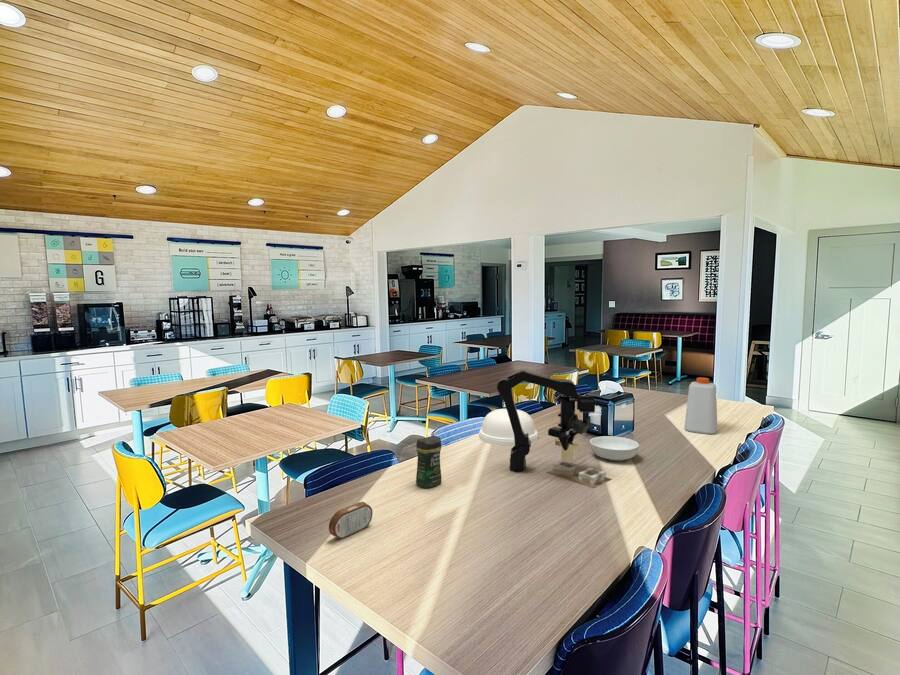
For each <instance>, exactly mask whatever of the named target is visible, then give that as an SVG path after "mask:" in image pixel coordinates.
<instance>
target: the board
mask: <svg viewBox="0 0 900 675" xmlns="http://www.w3.org/2000/svg"><path fill="white" fill-rule="evenodd" d="M545 473H546V474H549V475H552V476H554V477H557V478H562V479H565V480H568V481H569V482H574V483H577V484H580V485H582V486H585V487H589V488H592V489H597V488H598V487H600V486H603V485H604V484H606V483H608V482H610V481H611V480H613V479H612V478H611V477H610V478H609V477H607V476H606V471H603V470H600V469H596V468H593V467H588V468H586V469H581V465H580V464H576V463H573V462H571V461H567V460H564V459H561V460H560V461H558V462H555V463H553V464H552V469H550V470H548V471H546V472H545Z"/></svg>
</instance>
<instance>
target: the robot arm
mask: <svg viewBox="0 0 900 675" xmlns="http://www.w3.org/2000/svg"><path fill="white" fill-rule="evenodd" d="M523 382H527V383H528V384H529V383H530V384H534V385H537V386H541V387H544V388H549V389H551V390H553V391H555V392H557V393H558V396H556V397H555V400H556V401H557V402H560V409H559V410H560V411H559V412H560V413H558V414H557V416H558V417H559V420H560V421H559V423H557V426H553V427H551V428H548V430H547V435H548V436H550V437H554V438H557V439H559V440H560V442H561V444H562V447H563V449H564V450H567V447H568V442H571V443H574V439H575V437H576V436H577V435H578V434H579V435H583V434H586V433H587V431H588V429H590V425H591V424H590V419H588V418H584V419H579V418H578V417H579V416H578V414H576V410H577V411H579V413H592V414H593V413H595V410H596V404H595V396H594V395H593V394H590V395H584V394H583V395H580V393H579V391H577V388H576V385H575V383H574V382H573V381H572V380H571V379H566V378H565V379H563V378H553V377H549V376H546V375H542V374H538V373H535V372H531V371H527V370H525V369H521V370H518V372H516V373H513V374H511V375H510V376H508V377H501V378H500V379H499V380H498V381H497V383H496V384H497V385H496V390H497V391H498V393H499V395H500V397H501V399H502V400H503V403H504V405H505V409H507V412H508V416H509V419H510V422H511V426H512V429H513V432H514V440H515V446H512V447H511V448H510V454H509V455H510V457H509V471H510V472H514V473H522V472H525V470H526V468H527V462H526V460H527V459H526V457H527V455H528V454H530V450H531V447H532V444H531V441H530V440H529V435H528V433H527V434H525V433H524V431H523V430H522V426H521V423H520V419H519V416H518V413H517V410H518V409H517V407H516V406H517V405H516V404H515V399H514V391H513V388H515V387H517V385H520V384H521V383H523ZM570 397H571V398H570ZM562 447H561V448H562Z"/></svg>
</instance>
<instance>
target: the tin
mask: <svg viewBox="0 0 900 675" xmlns="http://www.w3.org/2000/svg"><path fill="white" fill-rule="evenodd" d="M372 519H373V508H372V507H371V506H370V505H369V504H368V503H366V502H364V501H360V502H357V503H353V504H351V505H349V506H346V507H343V508H341V509H338V510H337V511H336V512H335V513H334V514H333V515H332V516H331V518H330V520H329V523H328V531H329V533H330V535H332V537H335V538H337V539H345V538H347V537H349V536H352V535H354V534H356V533H359V532H361V531H363V530H365V529H366V528H367V527H369V525H370V523H371V521H372Z"/></svg>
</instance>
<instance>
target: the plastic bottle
mask: <svg viewBox="0 0 900 675" xmlns="http://www.w3.org/2000/svg"><path fill="white" fill-rule="evenodd" d="M686 402H687V403H686V410H685V418H684V419H685V420H684V425H683V426H684V430H685V431H687V432H689V431H690V433H695V432H696V433H697V434H703V435H714V434H716V433H717V432H718V406H717V405H718V404H717V385H716V383H713V382H710V378H708V377H701V376H700V377H696V381H691V382H690V384H689V385H688V392H687V401H686Z"/></svg>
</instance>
